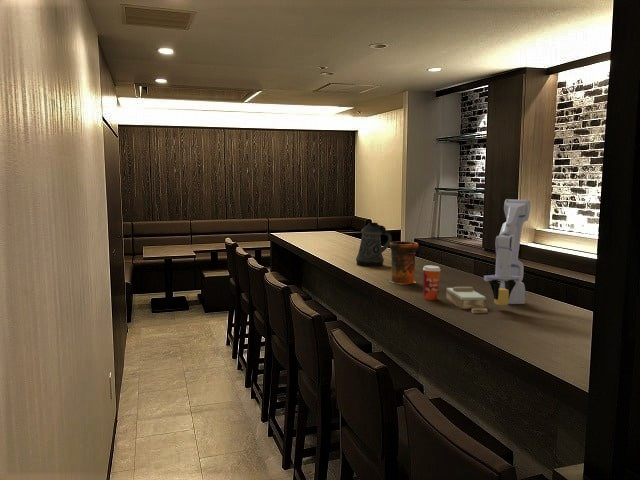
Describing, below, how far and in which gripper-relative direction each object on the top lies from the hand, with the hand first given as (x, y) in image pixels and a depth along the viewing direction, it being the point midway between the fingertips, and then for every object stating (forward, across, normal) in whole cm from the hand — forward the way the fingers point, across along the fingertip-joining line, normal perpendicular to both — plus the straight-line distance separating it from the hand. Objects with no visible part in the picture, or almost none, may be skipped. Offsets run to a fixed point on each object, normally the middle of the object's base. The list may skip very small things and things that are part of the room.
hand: (501, 298), depth 211 cm
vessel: (+5, -26, +56) cm, 62 cm away
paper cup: (+5, -22, +20) cm, 30 cm away
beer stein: (+5, -30, +108) cm, 112 cm away
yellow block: (+2, 0, 0) cm, 2 cm away
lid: (+1, -11, +11) cm, 15 cm away
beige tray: (+5, -10, +8) cm, 14 cm away
